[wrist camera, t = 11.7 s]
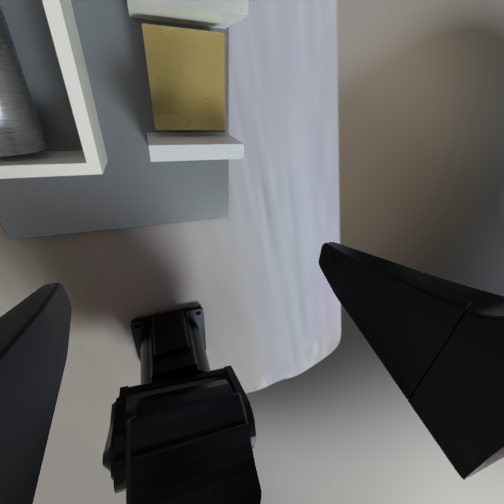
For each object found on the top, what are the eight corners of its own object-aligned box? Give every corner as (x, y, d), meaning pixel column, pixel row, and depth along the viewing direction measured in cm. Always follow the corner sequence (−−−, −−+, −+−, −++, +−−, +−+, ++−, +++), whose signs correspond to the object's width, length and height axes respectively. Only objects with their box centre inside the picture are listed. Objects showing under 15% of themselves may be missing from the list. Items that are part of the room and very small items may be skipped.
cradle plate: (220, 127, 17) (224, 129, 16) (154, 127, 16) (155, 129, 15) (219, 35, 15) (224, 32, 14) (141, 26, 13) (141, 23, 13)
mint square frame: (226, 214, 22) (243, 241, 18) (12, 235, 17) (-21, 277, 14) (225, -183, 12) (263, -299, 8) (-284, -371, 7) (-698, -811, 4)
